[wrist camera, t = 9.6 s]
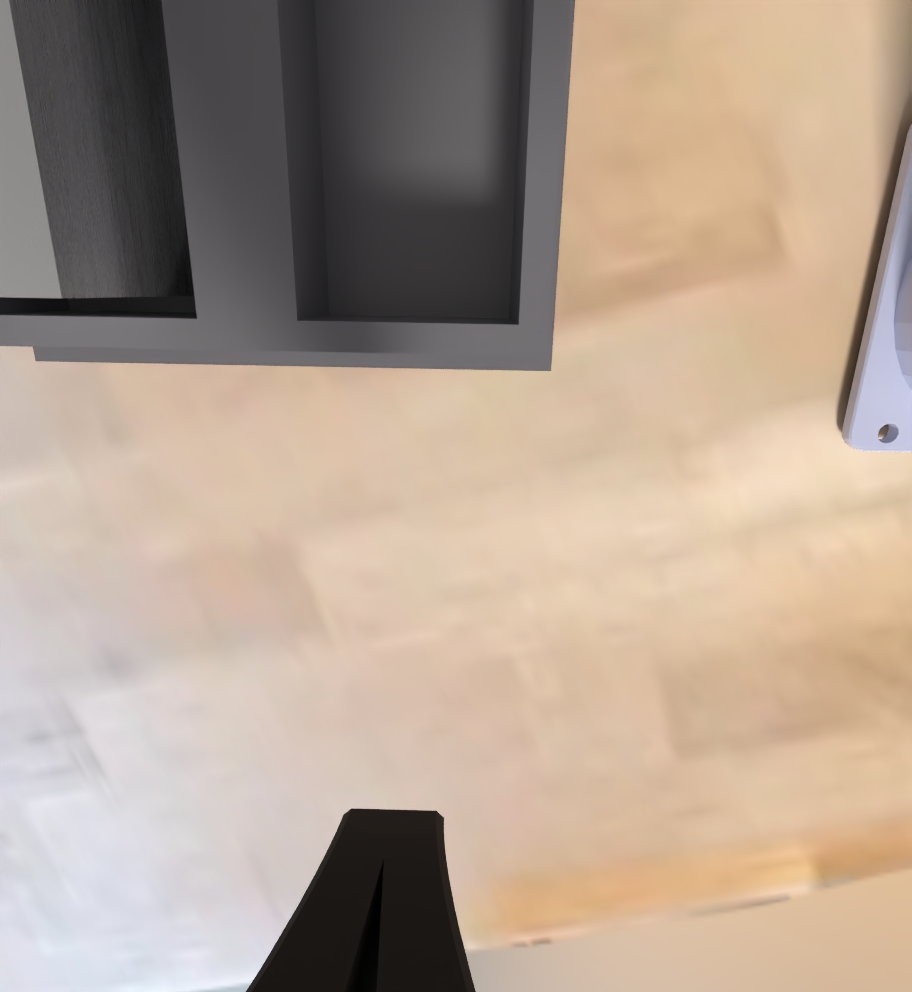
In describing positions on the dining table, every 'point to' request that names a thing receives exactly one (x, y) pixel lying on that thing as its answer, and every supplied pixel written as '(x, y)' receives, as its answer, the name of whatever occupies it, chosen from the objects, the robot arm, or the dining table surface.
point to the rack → (351, 190)
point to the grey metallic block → (89, 153)
